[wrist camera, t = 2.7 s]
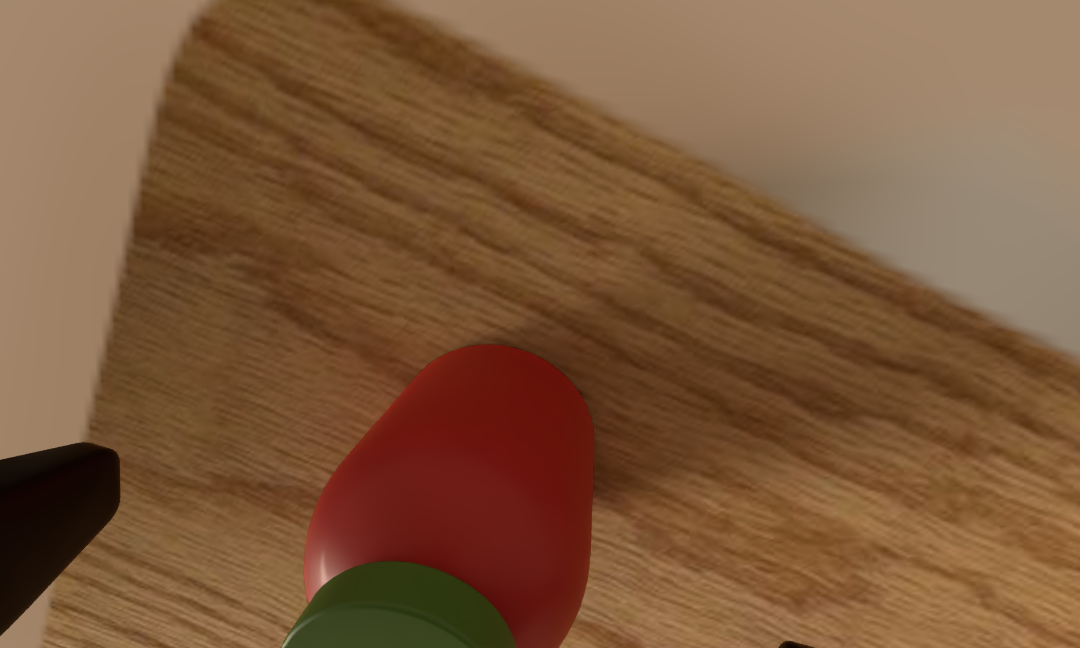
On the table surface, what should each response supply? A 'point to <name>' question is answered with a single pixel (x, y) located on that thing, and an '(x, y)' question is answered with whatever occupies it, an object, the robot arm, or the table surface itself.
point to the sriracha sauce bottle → (457, 514)
